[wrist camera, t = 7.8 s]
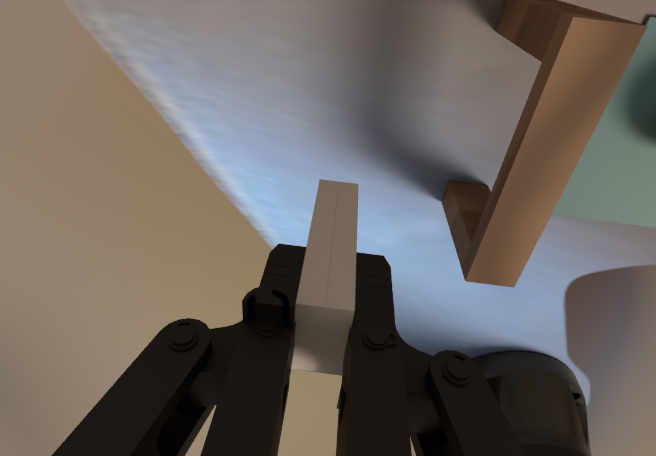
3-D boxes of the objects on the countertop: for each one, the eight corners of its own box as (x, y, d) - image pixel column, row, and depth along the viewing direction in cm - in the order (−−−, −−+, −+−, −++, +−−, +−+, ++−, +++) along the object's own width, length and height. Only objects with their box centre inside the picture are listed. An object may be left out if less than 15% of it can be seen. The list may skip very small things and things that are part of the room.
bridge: (557, 0, 23) (648, 25, 16) (479, 207, 32) (514, 287, 24) (506, -6, 23) (573, 16, 16) (441, 202, 32) (465, 281, 24)
